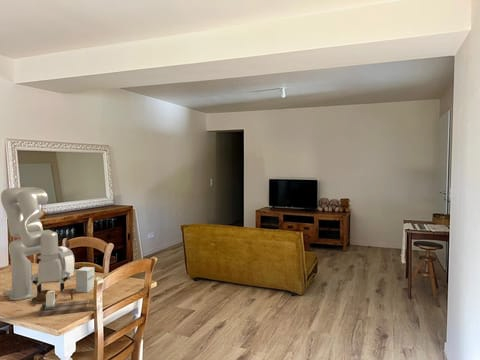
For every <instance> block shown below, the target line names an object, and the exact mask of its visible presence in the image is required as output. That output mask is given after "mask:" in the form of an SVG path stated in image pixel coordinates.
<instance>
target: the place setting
mask: <svg viewBox="0 0 480 360" xmlns="http://www.w3.org/2000/svg"><path fill="white" fill-rule="evenodd" d="M41 290H42V289H41ZM48 291H52V290H50V289H43V290H42V292H41V293H40V294H38V292H36V295H35V296H33V297H31V298H32V299H31V303H33V304H30V303H28V304H27V305H28V306H30V307H36V305H42V304H43V303H45V304H46V294H47V292H48ZM68 292H69V295H70V300H71V301H72V300H73V299H74V297H73V296H74V294H75V289H74V288H70V289H69V291H68ZM64 297H66V295H65V296H64ZM57 298H58V295H57V294H56V293H55V300H56V299H57ZM36 300H38V301H36Z"/></svg>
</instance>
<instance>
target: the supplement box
mask: <svg viewBox="0 0 480 360" xmlns="http://www.w3.org/2000/svg"><path fill="white" fill-rule="evenodd" d="M95 272H96V271H95V266H82V267H81V268H79V269H76V270H75V292H77V293H86V294H87V293H88V292H90V291H92V290H94V289H93V287H94V280H95V275H96V274H95Z"/></svg>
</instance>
